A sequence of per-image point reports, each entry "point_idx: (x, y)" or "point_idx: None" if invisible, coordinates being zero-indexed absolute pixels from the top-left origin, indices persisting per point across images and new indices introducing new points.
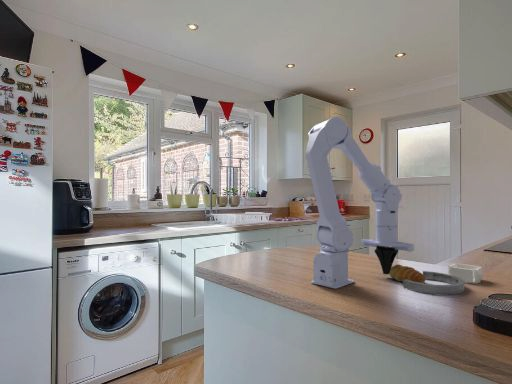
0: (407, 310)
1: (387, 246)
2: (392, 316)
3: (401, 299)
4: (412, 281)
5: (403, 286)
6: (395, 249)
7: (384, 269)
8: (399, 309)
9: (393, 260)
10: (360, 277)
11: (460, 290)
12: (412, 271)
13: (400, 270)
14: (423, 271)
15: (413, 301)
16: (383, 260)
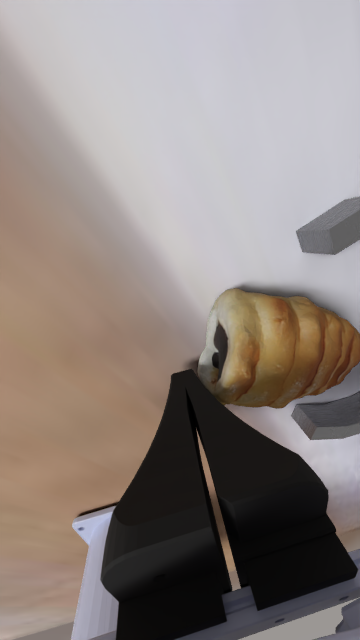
0: (348, 495)
1: (256, 626)
2: (336, 520)
3: (321, 473)
4: (340, 430)
5: (294, 419)
6: (335, 555)
7: (194, 421)
8: (336, 501)
9: (230, 414)
10: (125, 448)
11: None
12: (329, 378)
13: (278, 406)
14: (335, 242)
15: (344, 462)
16: (205, 479)
